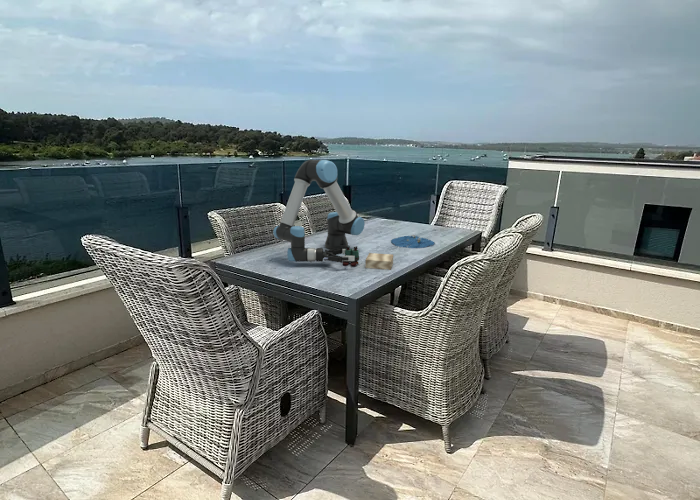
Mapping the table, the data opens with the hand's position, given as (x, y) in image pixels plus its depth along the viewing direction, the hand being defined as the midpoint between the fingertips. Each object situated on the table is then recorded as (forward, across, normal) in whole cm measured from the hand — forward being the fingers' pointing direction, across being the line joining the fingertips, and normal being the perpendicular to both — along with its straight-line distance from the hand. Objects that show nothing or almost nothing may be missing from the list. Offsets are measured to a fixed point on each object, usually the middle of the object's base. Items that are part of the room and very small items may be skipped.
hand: (354, 254), depth 209 cm
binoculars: (-2, 0, -6) cm, 7 cm away
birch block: (+14, 0, -6) cm, 16 cm away
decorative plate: (+42, -52, -7) cm, 67 cm away
